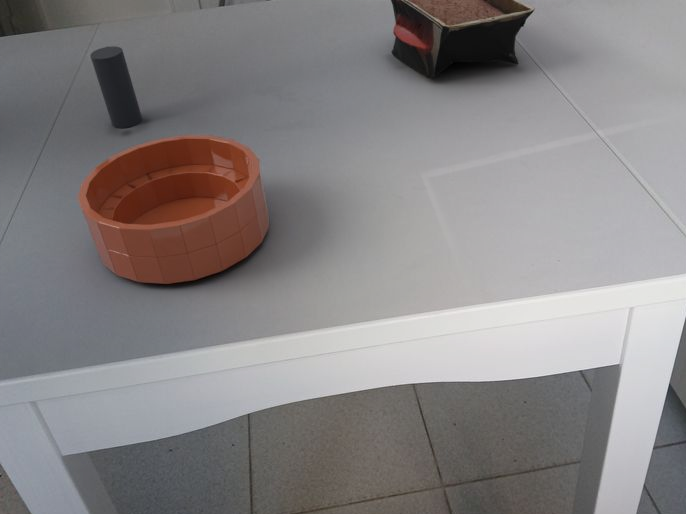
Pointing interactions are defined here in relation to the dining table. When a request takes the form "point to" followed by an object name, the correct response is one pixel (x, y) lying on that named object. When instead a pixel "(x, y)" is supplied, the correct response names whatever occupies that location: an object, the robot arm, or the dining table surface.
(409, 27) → the black soil planter box
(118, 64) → the dark grey cylinder
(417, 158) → the dining table surface
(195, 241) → the bowl
